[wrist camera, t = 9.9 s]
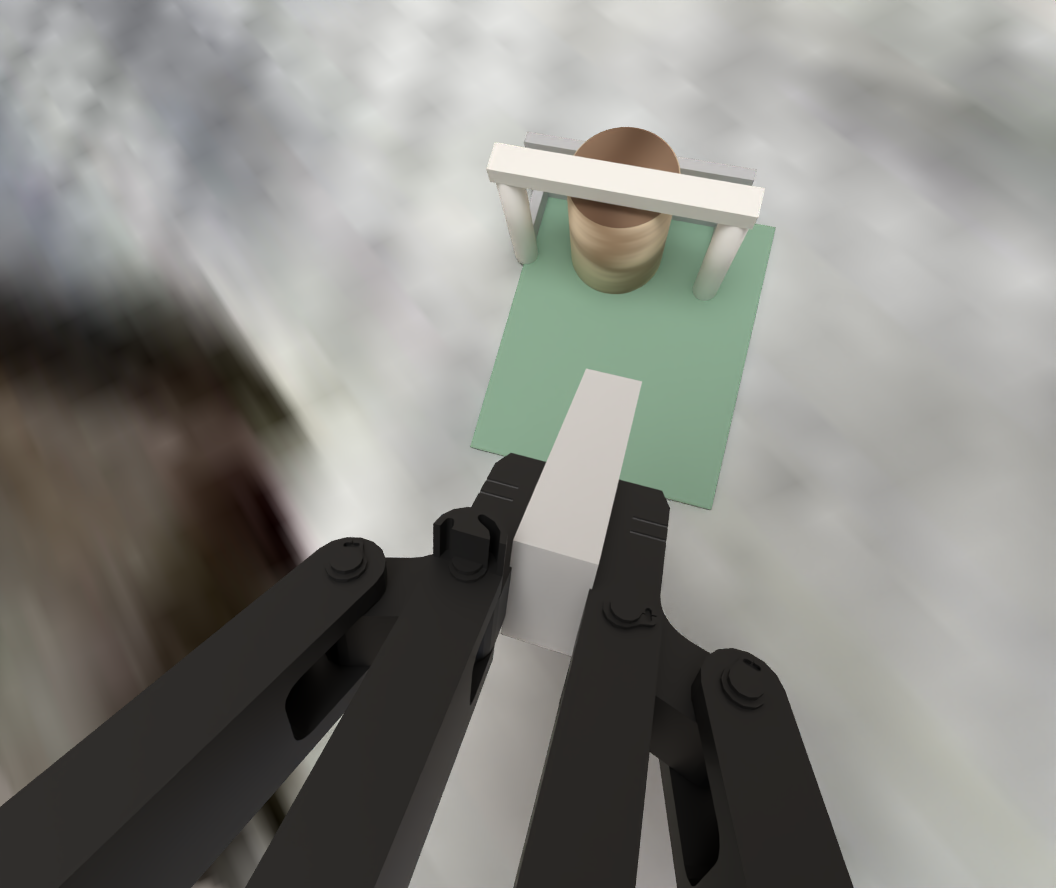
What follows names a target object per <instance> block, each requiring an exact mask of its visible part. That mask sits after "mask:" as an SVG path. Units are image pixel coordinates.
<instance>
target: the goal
mask: <svg viewBox="0 0 1056 888" xmlns="http://www.w3.org/2000/svg"><path fill="white" fill-rule="evenodd" d="M585 142H586V141H580V140H574V139H568V138H562V137H556V136H550V135H544V134H538V133H532V132H527V134H526V137H525V140H524V144H525V147H519V146H514V145H508V144H502V143H496V142H495V143H494V146H493V150H492V153H491V156H490V159H489V163H488V166H487V173H488V176H489V180H490V182H494V183H496V185H497V189H498V192H499V196H500V200H501V203H502V207H503V211H504V215H505V218H506V222H507V226H508V229H509V233H510V237H511V240H512V244H513V248H514V252H515V255H516V258H517V260H518V261H519V262H520V263H522V264H530V263H533V262H534V261H535V260H536V259H537V257H538V249H537V243H536V238H537V235H538V231H539V228H540V224H541V221H542V218H543V214H544V211H545V207H546V204H547V200H548V197H551V198H557V199H562V200H567V196H571V197H576V198H582V199H587V200H593V201H598V202H604V203H609V204H615V205H620V206H626V207H631V208H637V209H642V210H648V211H653V212H659V213H664V214H670V215H672V219H671V220H677V221H682V222H688V223H693V224H699V225H704V226H710V227H714V231H713V235H712V239H711V242H710V245H709V247H708V250H707V252H706V255H705V257H704V260H703V262H702V265H701V267H700V270H699V272H698V275H697V277H696V280H695V282H694V285H693V288H692V291H693V294H694V296H695V297H696V298H697V299H699V300H703V301H707V300H710V299H712V298H713V297H714V296H715V295H716V293H717V291H718V289H719V287H720V285H721V283H722V281H723V279H724V277H725V275H726V273H727V271H728V269H729V267H730V265H731V263H732V261H733V259H734V257H735V255H736V253H737V251H738V249H739V247H740V245H741V244H742V242H743V240H744V238H745V236H746V234H747V232H748V230H749V229H753V227H754V225H755V223H756V221H757V219H758V216H759V212H760V208H761V204H762V199H763V195H764V191H765V188H760V187H754V186H752V184H753V182H754V179H755V174H756V169H750V168H744V167H738V166H732V165H725V164H719V163H713V162H707V161H701V160H695V159H689V158H683V157H677V156H676V157H677V159H678V162H679V165H680V172H681V174H678V173H672V172H666V171H660V170H655V169H649V168H643V167H637V166H631V165H625V164H619V163H613V162H608V161H602V160H596V159H590V158H584V157H578V156H573V155H574V154H575V152H576V151H577V150H578V149H579V148H580V146H581V145H582V144H583V143H585ZM526 188H527V189H532V191H533V193H532V196H531V200H530V203H529V201H528V195H527V190H526Z"/></svg>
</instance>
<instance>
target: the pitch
mask: <svg viewBox="0 0 1056 888" xmlns="http://www.w3.org/2000/svg"><path fill="white" fill-rule="evenodd" d="M775 228H776V227H771V226H765V225H760V224H755V225H754V227H753V229H749V230H748V232H747V234H746V236H745V238H744V240H743V242H742V244H741V245H740V247H739V249H738V251H737V253H736V255H735V257H734V259H733V261H732V263H731V265H730V267H729V269H728V271H727V273H726V275H725V277H724V279H723V281H722V283H721V285H720V287H719V289H718V291H717V293H716V295H715V296H714V297H713V298H712V299H710V300H707V301H703V300H699V299H697V298H696V297H695V296H694V294H693V291H692V288H693V285H694V282H695V280H696V277H697V275H698V272H699V270H700V267H701V265H702V262H703V260H704V257H705V255H706V252H707V250H708V247H709V245H710V242H711V239H712V235H713V231H714V227H710V226H704V225H699V224H693V223H688V222H682V221H677V220H671V223H670V227H669V231H668V235H667V239H666V243H665V247H664V251H663V255H662V259H661V263H660V266H659V268H658V270H657V272H656V273H655V275H654V276H653V277H652V278H651V279H650V280H649V281H648V282H647V283H646V284H645V285H643V286H642V287H640V288H638V289H636V290H634V291H631V292H628V293H624V294H607V293H603V292H599V291H597V290H594V289H593V288H591V287H589V286H588V285H586V284H585V283H584V282H583V281H582V280H581V279H580V278H579V276H578V275H577V273H576V271H575V269H574V267H573V263H572V258H571V244H570V230H569V217H568V203H567V200H562V199H557V198H551V197H548V200H547V204H546V207H545V211H544V214H543V218H542V221H541V224H540V228H539V231H538V235H537V238H536V243H537V249H538V257H537V259H536V260H535V261H534V262H533V263H530V264H524V265H523V269H522V272H521V275H520V279H519V282H518V286H517V289H516V292H515V296H514V299H513V303H512V306H511V309H510V313H509V316H508V320H507V323H506V327H505V330H504V333H503V337H502V340H501V344H500V347H499V350H498V354H497V357H496V361H495V364H494V368H493V371H492V374H491V378H490V381H489V385H488V388H487V391H486V395H485V398H484V402H483V405H482V408H481V412H480V415H479V419H478V422H477V426H476V429H475V432H474V436H473V439H472V443H471V446H470V447H472V448H475V449H479V450H483V451H487V452H491V453H495V454H498V455H502V456H507V455H508V454H510V453H514V454H518V455H522V456H526V457H530V458H534V459H537V460H541V461H545V462H547V459H548V457H549V455H550V452H551V450H552V448H553V445H554V443H555V441H556V438H557V436H558V434H559V431H560V429H561V427H562V424H563V422H564V419H565V417H566V415H567V412H568V410H569V408H570V405H571V403H572V401H573V398H574V396H575V394H576V391H577V389H578V387H579V384H580V382H581V380H582V377H583V375H584V372H585V370H586V369H590V370H595V371H599V372H603V373H608V374H612V375H616V376H621V377H625V378H629V379H634V380H638V381H642V384H641V388H640V393H639V397H638V401H637V405H636V409H635V414H634V418H633V422H632V426H631V431H630V435H629V439H628V443H627V447H626V452H625V456H624V460H623V464H622V468H621V473H620V477H619V480H623V481H627V482H631V483H635V484H639V485H642V486H646V487H650V488H654V489H658V490H662V491H663V494H664V496H665V498H667V499H670V500H674V501H678V502H682V503H686V504H690V505H693V506H697V507H701V508H705V509H709V510H711V508H712V504H713V499H714V495H715V490H716V486H717V482H718V477H719V473H720V469H721V464H722V460H723V455H724V451H725V447H726V442H727V438H728V434H729V429H730V425H731V420H732V416H733V412H734V407H735V403H736V398H737V394H738V390H739V385H740V381H741V377H742V372H743V368H744V363H745V359H746V355H747V350H748V346H749V342H750V337H751V333H752V328H753V324H754V320H755V315H756V311H757V307H758V302H759V298H760V293H761V289H762V285H763V280H764V276H765V272H766V267H767V263H768V258H769V254H770V250H771V245H772V241H773V236H774V232H775Z"/></svg>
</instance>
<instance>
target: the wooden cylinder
mask: <svg viewBox="0 0 1056 888" xmlns="http://www.w3.org/2000/svg"><path fill="white" fill-rule="evenodd" d="M573 156H578V157H584V158H590V159H596V160H602V161H608V162H613V163H619V164H625V165H631V166H637V167H643V168H649V169H655V170H660V171H666V172H672V173H678V174H681V172H680V165H679V162H678V159H677V157H676V155H675V153H674V151H673V150H672V148H671V147H670V146H669V145H668V144H667V143H666V142H665V141H664V140H663V139H662V138H660V137H659V136H657V135H655V134H653V133H651V132H649V131H646V130H644V129H639V128H633V127H620V128H613V129H609V130H606V131H603V132H600V133H598V134H596V135H594V136H593V137H591V138H590V139H588V140H587V141H586V142H585V143H583V144H582V145H581V146H580V148H579V149H578V150H577V151H576V152H575V154H574V155H573ZM567 203H568V217H569V230H570V244H571V258H572V263H573V267H574V269H575V271H576V273H577V275H578V276H579V278H580V279H581V280H582V281H583V282H584V283H585V284H586V285H588V286H589V287H591V288H593V289H594V290H597V291H599V292H603V293H607V294H624V293H628V292H631V291H634V290H636V289H638V288H640V287H642V286H643V285H645V284H646V283H647V282H648V281H649V280H650V279H651V278H652V277H653V276H654V275H655V273H656V272H657V270H658V268H659V266H660V263H661V259H662V255H663V251H664V247H665V243H666V239H667V235H668V231H669V227H670V223H671V219H672V215H670V214H664V213H659V212H653V211H648V210H642V209H637V208H631V207H626V206H620V205H615V204H609V203H604V202H598V201H593V200H587V199H582V198H576V197H571V196H567Z"/></svg>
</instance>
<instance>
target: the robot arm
mask: <svg viewBox="0 0 1056 888" xmlns="http://www.w3.org/2000/svg"><path fill="white" fill-rule="evenodd" d="M641 384H642V381H638V380H634V379H629V378H625V377H621V376H616V375H612V374H608V373H603V372H599V371H595V370H590V369H586V370H585V372H584V375H583V377H582V380H581V382H580V384H579V387H578V389H577V391H576V394H575V396H574V398H573V401H572V403H571V405H570V408H569V410H568V412H567V415H566V417H565V419H564V422H563V424H562V427H561V429H560V431H559V434H558V436H557V438H556V441H555V443H554V445H553V448H552V450H551V452H550V455H549V457H548V459H547V462H545V461H541V460H537V459H534V458H530V457H526V456H522V455H518V454H514V453H510V454H508V455H507V456H505V457H504V458H502V459H501V460H499V461H498V462H496V463H495V465H494V467H493V468H492V470H491V472H490V474H489V476H488V477H487V481H485V483H484V485H483V487H482V488H481V490H480V493H479V494H478V496H477V497H476V499H475V501H474V503H473V505H472V507H465V508H458V509H453V510H451V511H449V512H447V513H445V514H443V515H441V516H440V517H439V518H438V519H437V520H436V522H435V523H434V524H433V554H432V555H428V556H424V557H416V558H385V556H384V553H383V551H382V549H381V548H380V547H379V546H378V545H376V544H375V543H374V542H372V541H369V540H366V539H363V538H354V537H346V538H342V539H338V540H334V541H331V542H330V543H328V544H326V545H324V546H323V547H321V548H319V549H318V550H317V551H316V552H314V553H313V554H312V555H311V556H309V557H308V558H307V559H306V560H305V561H303V562H302V563H301V564H300V565H298V566H297V567H296V568H295V569H293V570H292V571H291V572H290V573H288V574H287V575H286V576H285V577H284V578H282V579H281V580H280V581H279V582H277V583H276V584H275V585H274V586H272V587H271V588H270V589H269V590H267V591H266V592H265V593H264V594H263V595H261V596H260V597H259V598H258V599H256V600H255V601H254V602H253V603H251V604H250V605H249V606H248V607H246V608H245V609H244V610H243V611H242V612H240V613H239V614H238V615H237V616H235V617H234V618H233V619H232V620H230V621H229V622H228V623H227V624H225V625H224V626H223V627H222V628H221V629H219V630H218V631H217V632H216V633H214V634H213V635H212V636H211V637H209V638H208V639H207V640H206V641H204V642H203V643H202V644H201V645H200V646H198V647H197V648H196V649H195V650H193V651H192V652H191V653H190V654H188V655H187V656H186V657H185V658H183V659H182V660H181V661H180V662H179V663H177V664H176V665H175V666H174V667H172V668H171V669H170V670H169V671H167V672H166V673H165V674H164V675H162V676H161V677H160V678H159V679H158V680H156V681H155V682H154V683H153V684H151V685H150V686H149V687H148V688H146V689H145V690H144V691H143V692H141V693H140V694H139V695H138V696H137V697H135V698H134V699H133V700H132V701H130V702H129V703H128V704H127V705H125V706H124V707H123V708H122V709H120V710H119V711H118V712H117V713H116V714H114V715H113V716H112V717H111V718H109V719H108V720H107V721H106V722H104V723H103V724H102V725H101V726H99V727H98V728H97V729H96V730H95V731H93V732H92V733H91V734H90V735H88V736H87V737H86V738H85V739H83V740H82V741H81V742H80V743H78V744H77V745H76V746H75V747H74V748H72V749H71V750H70V751H69V752H67V753H66V754H65V755H64V756H62V757H61V758H60V759H59V760H57V761H56V762H55V763H54V764H53V765H51V766H50V767H49V768H48V769H46V770H45V771H44V772H43V773H41V774H40V775H39V776H38V777H36V778H35V779H34V780H33V781H32V782H30V783H29V784H28V785H27V786H25V787H24V788H23V789H22V790H20V791H19V792H18V793H17V794H15V795H14V796H13V797H12V798H11V799H9V800H8V801H7V802H6V803H4V804H3V805H2V806H1V807H0V888H191V887H192V886H193V885H194V884H195V882H196V881H197V880H198V879H199V878H200V877H201V876H202V874H203V873H204V872H205V871H206V870H207V869H208V868H209V867H210V865H211V864H212V863H213V862H214V861H215V860H216V859H217V857H218V856H219V855H220V854H221V853H222V852H223V851H224V849H225V848H226V847H227V846H228V845H229V844H230V843H231V841H232V840H233V839H234V838H235V837H236V836H237V835H238V833H239V832H240V831H241V830H242V829H243V828H244V827H245V825H246V824H247V823H248V822H249V821H250V820H251V819H252V817H253V816H254V815H255V814H256V813H257V812H258V811H259V809H260V808H261V807H262V806H263V805H264V804H265V803H266V801H267V800H268V799H269V798H270V797H271V796H272V795H273V793H274V792H275V791H276V790H277V789H278V788H279V787H280V785H281V784H282V783H283V782H284V781H285V780H286V779H287V778H288V776H289V775H290V774H291V773H292V772H293V771H294V770H295V768H296V767H297V766H298V765H299V764H300V763H301V762H302V760H303V759H304V758H305V757H306V756H307V755H308V754H309V752H310V751H311V750H312V749H313V748H314V747H315V746H316V744H317V743H318V742H319V741H320V740H321V739H322V738H323V736H324V735H325V734H326V733H327V732H328V731H329V730H330V728H331V727H332V726H333V725H334V724H335V723H336V722H337V720H338V719H339V718H340V717H341V716H342V715H343V716H342V718H341V720H340V721H339V723H338V725H337V727H336V728H335V730H334V732H333V734H332V735H331V737H330V739H329V741H328V743H327V744H326V746H325V748H324V750H323V751H322V753H321V755H320V757H319V758H318V760H317V762H316V764H315V765H314V767H313V769H312V771H311V772H310V774H309V776H308V778H307V780H306V781H305V783H304V785H303V787H302V788H301V790H300V792H299V794H298V795H297V797H296V799H295V801H294V802H293V804H292V806H291V808H290V810H289V811H288V813H287V815H286V817H285V818H284V820H283V822H282V824H281V825H280V827H279V829H278V831H277V832H276V834H275V836H274V838H273V840H272V841H271V843H270V845H269V847H268V848H267V850H266V852H265V854H264V855H263V857H262V859H261V861H260V862H259V864H258V866H257V868H256V869H255V871H254V873H253V875H252V877H251V878H250V880H249V882H248V884H247V885H246V887H245V888H408V886H409V883H410V880H411V878H412V875H413V872H414V869H415V867H416V864H417V861H418V859H419V856H420V853H421V851H422V848H423V845H424V843H425V840H426V837H427V835H428V832H429V829H430V826H431V824H432V821H433V818H434V816H435V813H436V810H437V808H438V805H439V802H440V800H441V797H442V794H443V792H444V789H445V786H446V783H447V781H448V778H449V775H450V773H451V770H452V767H453V765H454V762H455V759H456V757H457V754H458V751H459V749H460V746H461V743H462V740H463V738H464V735H465V732H466V730H467V727H468V724H469V722H470V719H471V716H472V714H473V711H474V708H475V706H476V703H477V700H478V697H479V695H480V692H481V689H482V687H483V684H484V681H485V679H486V676H487V673H488V671H489V668H490V665H491V663H492V660H493V653H494V645H495V642H496V639H497V637H498V634H499V631H500V629H501V626H502V630H501V634H502V635H505V636H509V637H512V638H515V639H518V640H521V641H524V642H527V643H531V644H534V645H537V646H540V647H543V648H546V649H550V650H553V651H556V652H559V653H562V654H565V655H568V656H572V657H571V661H570V665H569V669H568V672H567V676H566V680H565V684H564V687H563V691H562V695H561V698H560V702H559V708H558V712H557V716H556V720H555V724H554V728H553V731H552V735H551V739H550V743H549V747H548V751H547V755H546V759H545V763H544V767H543V771H542V775H541V779H540V783H539V787H538V791H537V795H536V799H535V803H534V807H533V811H532V815H531V819H530V823H529V827H528V831H527V835H526V839H525V843H524V847H523V851H522V855H521V859H520V863H519V867H518V871H517V875H516V879H515V883H514V887H513V888H635V886H636V876H637V867H638V857H639V848H640V838H641V828H642V819H643V809H644V799H645V790H646V780H647V771H648V761H649V752H651V753H652V754H653V755H655V756H656V757H657V758H659V763H660V770H661V777H662V784H663V791H664V798H665V805H666V812H667V819H668V826H669V833H670V840H671V847H672V854H673V862H674V869H675V876H676V883H677V888H853V885H852V882H851V879H850V876H849V873H848V870H847V867H846V865H845V862H844V859H843V856H842V853H841V850H840V847H839V844H838V841H837V839H836V836H835V833H834V830H833V827H832V824H831V821H830V818H829V816H828V813H827V810H826V807H825V804H824V801H823V798H822V795H821V793H820V790H819V787H818V784H817V781H816V778H815V775H814V772H813V770H812V767H811V764H810V761H809V758H808V755H807V752H806V749H805V747H804V744H803V741H802V738H801V735H800V732H799V729H798V726H797V724H796V721H795V718H794V715H793V712H792V709H791V706H790V703H789V701H788V698H787V695H786V692H785V689H784V688H783V686H782V684H781V682H780V680H779V678H778V677H777V675H776V674H775V673H774V672H773V671H772V670H771V669H770V668H769V667H768V666H767V665H766V664H765V662H763V661H762V660H760V659H758V658H757V657H755V656H753V655H752V654H750V653H748V652H745V651H741V650H737V649H734V648H729V649H718V650H716V651H715V652H713V653H711V654H710V653H708V652H707V651H705V650H704V649H702V648H700V647H699V646H697V645H695V644H694V643H692V642H691V641H689V640H688V639H686V638H685V637H684V636H682V635H681V634H679V633H678V632H677V631H676V630H675V629H674V627H673V626H672V625H671V624H670V623H669V621H668V620H667V618H666V616H665V615H664V613H663V610H662V607H661V600H660V593H661V584H662V575H663V566H664V557H665V548H666V539H667V530H668V529H667V527H668V521H669V511H670V507H669V505H668V503H667V501H666V498H665V496H664V494H663V491H662V490H658V489H654V488H650V487H646V486H642V485H639V484H635V483H631V482H627V481H623V480H619V477H620V473H621V468H622V464H623V460H624V456H625V452H626V447H627V443H628V439H629V435H630V431H631V426H632V422H633V418H634V414H635V409H636V405H637V401H638V397H639V393H640V388H641ZM344 712H345V713H344Z"/></svg>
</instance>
